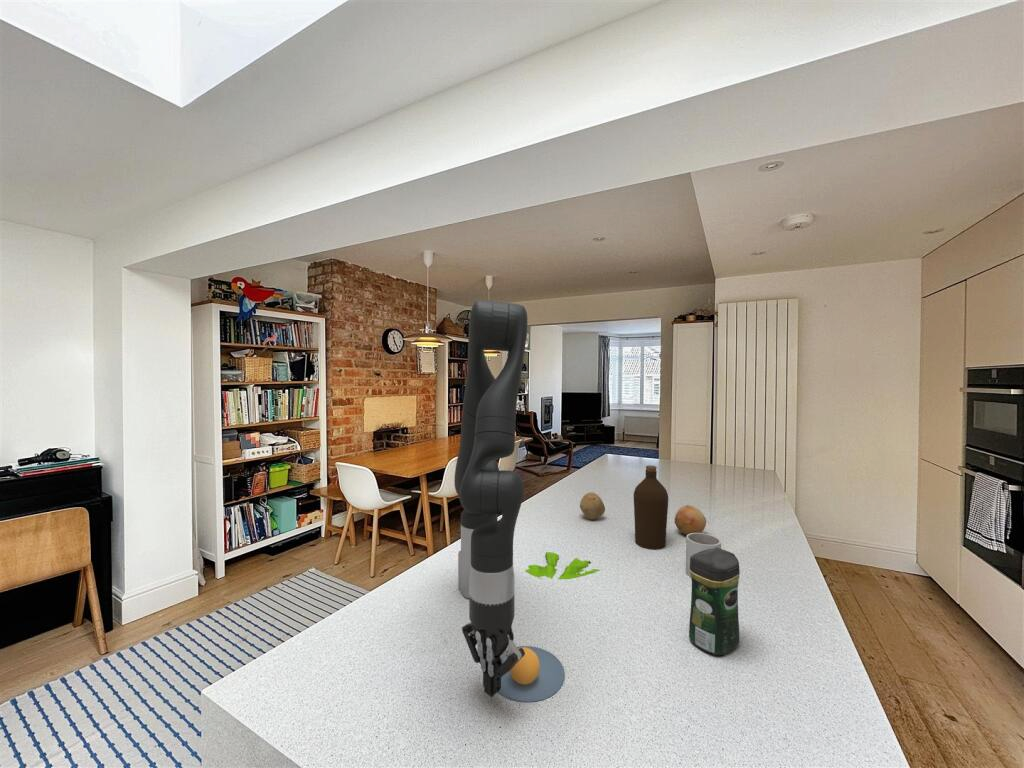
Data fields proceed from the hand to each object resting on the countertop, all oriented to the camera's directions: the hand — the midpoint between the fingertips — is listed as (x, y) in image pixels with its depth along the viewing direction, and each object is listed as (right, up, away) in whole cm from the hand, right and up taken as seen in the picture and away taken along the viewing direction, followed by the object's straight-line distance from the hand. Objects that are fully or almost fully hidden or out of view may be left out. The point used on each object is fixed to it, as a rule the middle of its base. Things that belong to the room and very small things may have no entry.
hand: (491, 692), depth 70 cm
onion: (+64, 0, +72) cm, 96 cm away
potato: (+33, +1, +87) cm, 93 cm away
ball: (+6, +1, +5) cm, 7 cm away
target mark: (+6, -1, +7) cm, 9 cm away
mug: (+57, -1, +44) cm, 72 cm away
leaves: (+18, -1, +49) cm, 53 cm away
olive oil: (+48, 0, +64) cm, 80 cm away
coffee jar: (+44, -1, +15) cm, 47 cm away
